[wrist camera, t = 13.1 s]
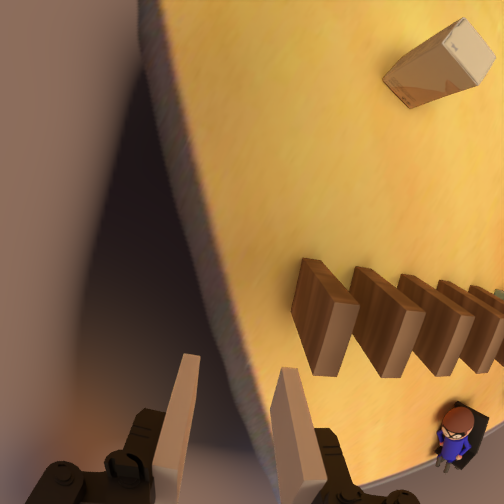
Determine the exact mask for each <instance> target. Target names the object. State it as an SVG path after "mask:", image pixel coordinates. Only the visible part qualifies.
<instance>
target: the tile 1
mask: <svg viewBox="0 0 504 504" xmlns="http://www.w3.org/2000/svg"><path fill="white" fill-rule="evenodd" d="M359 308H360V304H359V303H358V302H357V301H356V300H355V299H354V297H353V296H352V295H351V294H350V293H349V292H348V291H347V289H346V288H345V287H344V286H343V285H342V284H341V283H340V281H339V280H338V279H337V278H336V277H335V276H334V275H333V274H332V273H331V271H330V270H329V269H328V268H327V267H326V266H325V265H324V264H323V262H322V261H320V260H314V259H308V258H303V259H302V264H301V269H300V273H299V278H298V282H297V287H296V291H295V296H294V300H293V304H292V309H291V314H292V316H293V319H294V322H295V325H296V328H297V331H298V334H299V337H300V339H301V342H302V345H303V348H304V351H305V354H306V357H307V360H308V363H309V366H310V368H311V371H312V374H313V376H330V377H337V375H338V372H339V369H340V367H341V364H342V361H343V358H344V355H345V352H346V349H347V346H348V343H349V340H350V337H351V334H352V331H353V328H354V325H355V322H356V318H357V315H358V312H359Z"/></svg>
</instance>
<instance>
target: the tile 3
mask: <svg viewBox="0 0 504 504" xmlns="http://www.w3.org/2000/svg"><path fill="white" fill-rule="evenodd" d="M397 289H398V290H399V291H400V292H402V293H403V294H404V295H405V296H407V297H408V298H409V299H410V300H412V301H413V302H414V303H415V304H417V305H418V306H419V307H420V308H422V309H423V310H424V311H425V312H426V314H425V317H424V320H423V323H422V326H421V328H420V331H419V334H418V336H417V339H416V342H415V344H414V347H413V349H412V351H413V352H414V353H415V354H416V355H417V356H418V357H419V359H420V360H421V361H422V362H423V363H424V364H425V365H426V366H427V368H428V369H429V370H430V371H431V372H432V373H433V374H434V376H435V377H441V376H450V375H451V373H452V371H453V369H454V367H455V365H456V363H457V360H458V358H459V356H460V354H461V351H462V349H463V347H464V344H465V342H466V340H467V337H468V335H469V332H470V329H471V327H472V324H473V322H474V319H475V316H474V315H472V314H471V313H470V312H468V311H467V310H465V309H464V308H462V307H461V306H459V305H458V304H456V303H455V302H454V301H452V300H451V299H449V298H448V297H446V296H445V295H443V294H442V293H440V292H439V291H437V290H436V289H434V288H432V287H431V286H429V285H428V284H426V283H425V282H423V281H422V280H420V279H419V278H417V277H415V276H412V275H406V274H401V276H400V280H399V283H398V287H397Z"/></svg>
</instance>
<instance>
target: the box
mask: <svg viewBox="0 0 504 504" xmlns="http://www.w3.org/2000/svg"><path fill="white" fill-rule="evenodd" d="M495 59H496V56H495V54H494V53H493V51H492V50H491V49H490V48H489V46H488V45H487V44H486V42H485V41H484V40H483V38H482V37H481V36H480V35H479V33H478V32H477V31H476V30H475V29H474V27H473V26H472V25H471V24H470V23H469V22H468V20H467V19H466V18H461V19H459V20H458V21H456V22H454V23H453V24H451V25H450V26H448V27H446V28H445V29H443V30H442V31H440V32H439V33H437V34H436V35H434V36H432V37H431V38H429V39H428V40H426V41H425V42H423V43H422V44H420V45H419V46H417V47H416V48H414V49H413V50H411V51H410V52H408V53H407V54H406V55H404V56H403V57H402V58H401V59H400V60H399V61H398V62H397V63H396V64H395V65H394V66H393V68H392V69H391V70H390V71H389V72H388V73H387V74H386V76H385V77H384V78H383V81H384V82H385V83H386V84H387V85H388V86H389V87H390V88H391V90H392V91H393V92H394V93H395V94H396V95H397V96H398V97H399V98H400V99H401V100H402V101H403V102H404V103H405V104H406V105H407V106H408V107H409V108H410V109H411V108H414V107H417V106H420V105H422V104H425V103H428V102H431V101H433V100H436V99H439V98H442V97H445V96H448V95H451V94H453V93H456V92H460V91H462V90H466V89H469V88H472V87H475V86H478V85H479V84H480V83H481V81H482V80H483V79H484V77H485V76H486V74H487V73H488V71H489V69H490V68H491V66H492V64H493V62H494V61H495Z"/></svg>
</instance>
